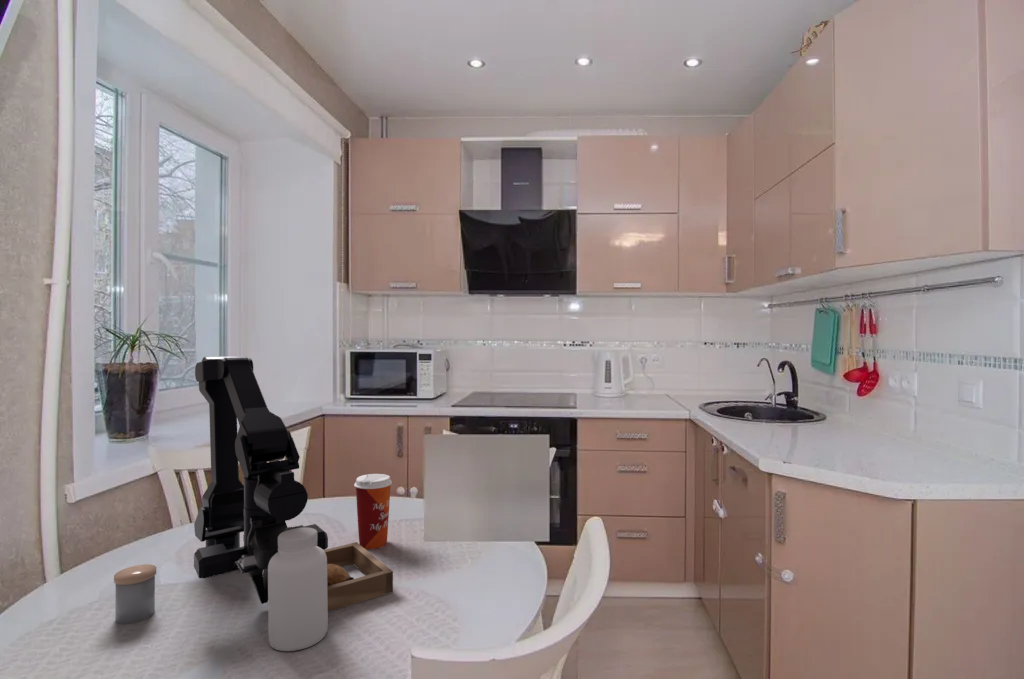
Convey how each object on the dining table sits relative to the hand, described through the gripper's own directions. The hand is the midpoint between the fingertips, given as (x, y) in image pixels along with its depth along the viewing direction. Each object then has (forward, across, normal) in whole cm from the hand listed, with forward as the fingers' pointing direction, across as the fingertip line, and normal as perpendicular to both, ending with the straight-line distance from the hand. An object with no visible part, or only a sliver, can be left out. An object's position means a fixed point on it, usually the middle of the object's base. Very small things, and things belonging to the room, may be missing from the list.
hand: (263, 602), depth 85 cm
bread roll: (+2, +11, +2) cm, 11 cm away
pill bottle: (+1, +2, -12) cm, 12 cm away
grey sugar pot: (+1, -16, +10) cm, 19 cm away
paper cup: (+1, +25, +15) cm, 29 cm away
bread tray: (+1, +11, +1) cm, 11 cm away
